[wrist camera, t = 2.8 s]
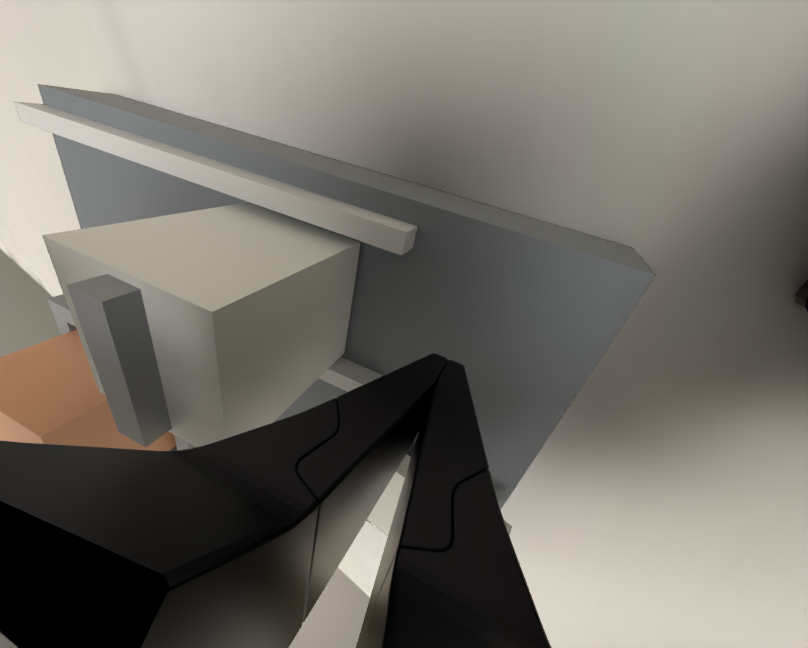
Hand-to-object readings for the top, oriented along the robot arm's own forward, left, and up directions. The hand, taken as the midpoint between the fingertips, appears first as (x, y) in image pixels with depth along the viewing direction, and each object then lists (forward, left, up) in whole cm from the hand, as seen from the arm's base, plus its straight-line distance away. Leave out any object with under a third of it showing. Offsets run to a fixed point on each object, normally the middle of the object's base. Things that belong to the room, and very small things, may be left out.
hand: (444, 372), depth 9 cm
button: (+13, +7, 0) cm, 15 cm away
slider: (+5, 0, -1) cm, 6 cm away
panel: (+6, +4, -4) cm, 8 cm away
